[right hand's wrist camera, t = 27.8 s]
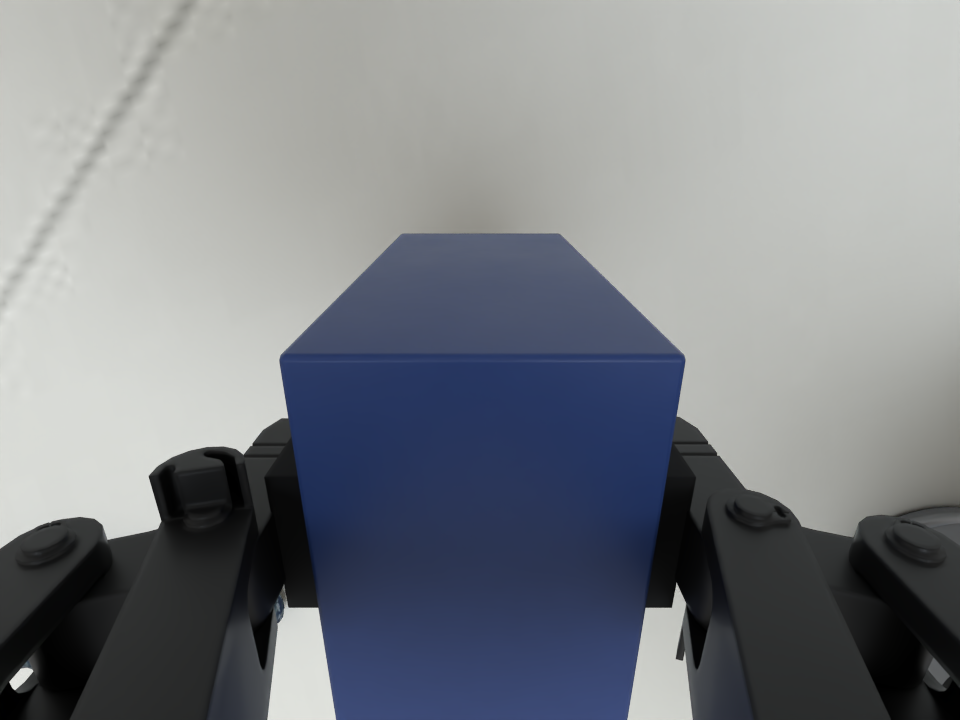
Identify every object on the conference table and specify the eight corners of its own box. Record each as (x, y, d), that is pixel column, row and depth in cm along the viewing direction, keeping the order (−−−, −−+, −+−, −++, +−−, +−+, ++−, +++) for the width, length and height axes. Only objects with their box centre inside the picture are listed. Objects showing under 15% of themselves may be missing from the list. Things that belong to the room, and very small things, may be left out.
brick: (411, 433, 19) (337, 739, 9) (400, 233, 16) (275, 356, 6) (549, 433, 19) (626, 739, 9) (561, 233, 17) (689, 355, 6)
